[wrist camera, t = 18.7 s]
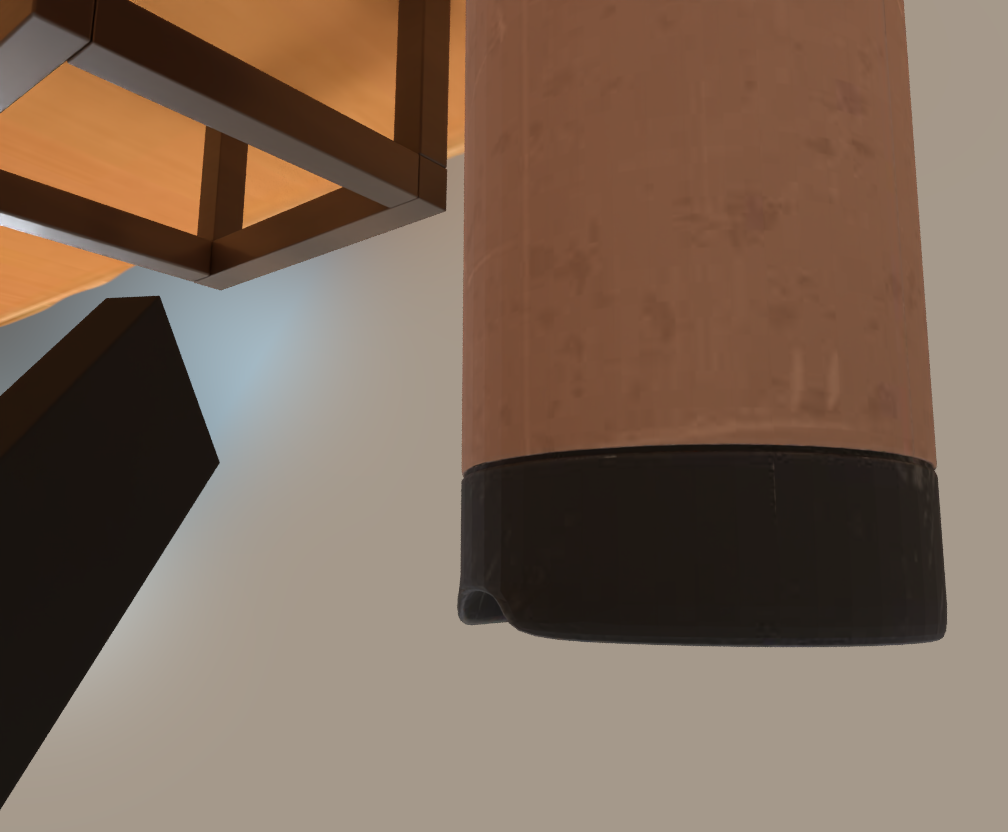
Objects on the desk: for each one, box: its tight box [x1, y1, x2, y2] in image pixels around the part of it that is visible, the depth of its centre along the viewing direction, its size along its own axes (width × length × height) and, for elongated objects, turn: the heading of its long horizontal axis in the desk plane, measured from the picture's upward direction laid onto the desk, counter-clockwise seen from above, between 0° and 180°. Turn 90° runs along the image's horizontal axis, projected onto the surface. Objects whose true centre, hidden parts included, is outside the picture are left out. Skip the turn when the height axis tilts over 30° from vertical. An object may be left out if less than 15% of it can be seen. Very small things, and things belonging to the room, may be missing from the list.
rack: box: [0, 0, 450, 290], centre depth 28 cm, size 13×13×8 cm
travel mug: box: [457, 0, 947, 647], centre depth 16 cm, size 8×8×20 cm
